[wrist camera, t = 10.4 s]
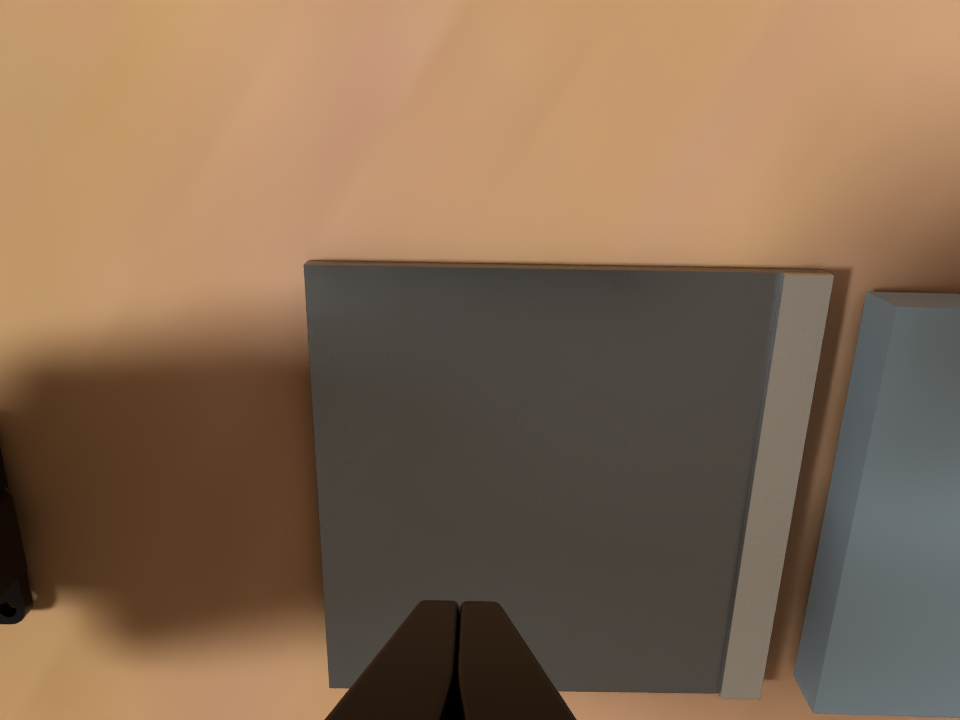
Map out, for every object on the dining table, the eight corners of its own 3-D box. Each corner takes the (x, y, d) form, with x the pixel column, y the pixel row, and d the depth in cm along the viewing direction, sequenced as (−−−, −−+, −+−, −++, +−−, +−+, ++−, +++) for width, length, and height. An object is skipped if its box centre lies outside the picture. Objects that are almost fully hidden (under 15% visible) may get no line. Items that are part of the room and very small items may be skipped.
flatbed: (332, 676, 23) (328, 692, 22) (308, 260, 19) (301, 266, 18) (752, 682, 23) (760, 699, 22) (821, 269, 19) (833, 275, 18)
